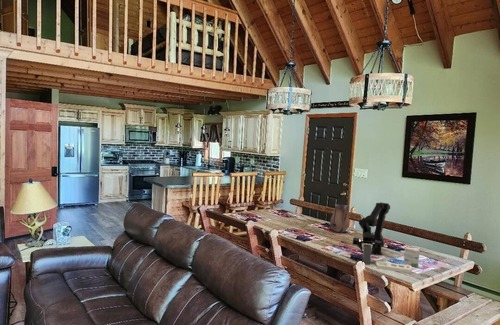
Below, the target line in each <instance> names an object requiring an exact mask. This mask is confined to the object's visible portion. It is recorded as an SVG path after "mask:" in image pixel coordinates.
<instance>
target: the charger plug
mask: <svg viewBox="0 0 500 325" xmlns="http://www.w3.org/2000/svg"><path fill="white" fill-rule="evenodd" d="M362 249H363V253H362V261H363V262H364V263H365V264H364V265H367V266H368V265H371V255H372V254H371V251H372V246H371V244H363V247H362ZM363 262H362V263H363Z"/></svg>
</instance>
